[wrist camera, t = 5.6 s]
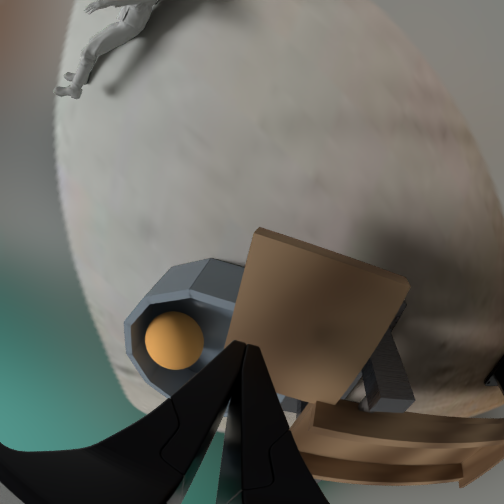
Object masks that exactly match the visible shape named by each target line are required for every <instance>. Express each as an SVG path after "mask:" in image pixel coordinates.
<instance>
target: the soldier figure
mask: <svg viewBox="0 0 504 504" xmlns="http://www.w3.org/2000/svg"><path fill="white" fill-rule="evenodd" d="M156 1H157V0H99V1H96V2H93V3H91V4H89V5H88V6H86V7H85V9H84V11H85V13H87V12H88V11H90V10H91V9H93V10H91V11H90V12H89V13H88V15H89V14H91V13H92V12H94V11H95V10H98V9H102V8H106V7H109V6H115V7H121V6H122V8H121V10H120V12H119V14H118V16H117V17H116V19H118V20H120V22H116V23H113V24H110V25H109V26H107V27H106V28H104V29H103V30H101V31H100V32H98V33H97V34H95V35H94V36H92V37H91V39H90V41H89V43H88V44H87V45H86V46H85V47H84V48H83V50H82V52H81V58H80V63H79V65H78V68H77V71H76V74H74V73H70V72H67V73H66V74H65V75H64V78H65V79H66V80H68V81H72V83H71V85H70V86H68V87H56V88H55V89H54V90H53V92H54V93H55V94H56V95H58V96H61V97H62V96H66V95H68V96H71V98H74V99H79V98H80V96H81V93H82V89H81V88H82V86H83V85H85V84H87V81H88V78H89V73H90V71H91V69H92V67H93V65H94V64H95V62H96V59H97V57H98V56H100V55H102V54H105V53H107V52H108V51H110V50H112V49H113V48H115V47H117V46H120V45H123V44H125V43H126V42H127V41H128V40H130V39H132V38H134V37H135V36H137V35H138V34H139V33H140V32H141V31H142V30H143V29H145V26H146V23H147V21H148V20H149V17H150V15H151V11H152V6H153V5H154V4H157V3H158V2H159V1H160V0H158V1H157V2H156ZM90 7H91V8H90ZM87 9H88V10H87ZM86 10H87V11H86Z"/></svg>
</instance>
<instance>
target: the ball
mask: <svg viewBox="0 0 504 504" xmlns="http://www.w3.org/2000/svg"><path fill="white" fill-rule="evenodd" d="M145 344H146V348H147V351H148V353H149V355H150V356H151V358H152V359H153V360H154V361H155V362H156V363H157V364H159V365H160V366H162V367H164V368H167V369H172V370H180V369H185V368H187V367H189V366H191V365H192V364H194V363H195V362H196V361H197V360H198V359H199V357H200V355H201V353H202V351H203V347H204V337H203V333H202V330H201V328H200V326H199V325H198V324H197V322H196V321H195V320H194V319H193V318H191V317H190V316H188V315H186V314H184V313H181V312H176V311H170V312H165V313H162V314H160V315H158V316H157V317H155V318H154V319H153V320H152V321H151V323H150V324H149V326H148V328H147V330H146V335H145Z"/></svg>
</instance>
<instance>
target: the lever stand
mask: <svg viewBox="0 0 504 504" xmlns="http://www.w3.org/2000/svg"><path fill="white" fill-rule="evenodd" d="M406 305H407V304H406V302H405V301H403V303H402V305H401V306H400V308H399V310H398V312H397V314H396V315H395V317H394V319H393V321H392V322H391V324H390V326H389V328H388V329H387V331H386V333H385V334H384V336H383V337H382V339H381V341H380V342H379V344H378V346H377V347H376V349H375V350H374V352H373V353H372V355H371V356H370V358H369V359H368V361H367V362H366V364H365V365H364V367H363V368H362V370H361V371H360V372H359V374H358V375H357V377H356V378H355V379H354V381H353V382H352V384H351V385H350V386H349V388H348V389H347V390H346V392H345V393H344V394H343V396H342V397H341V398H340V399H343V400H344V399H345V398H346V397H347V395H348V394H349V393H350V391H351V390H352V389H353V388H354V386H355V385H356V384H357V382H358V381H359V379H360V378H361V377H362V376H363V381H364V386H365V391H366V397H367V402H368V407H369V411H375V412H391V413H404V412H405V411H406V410H407V409H408V408H409V407H410V405H411V404H412V403H413V402H414V401H415V398H414V395H413V392H412V389H411V386H410V383H409V380H408V377H407V374H406V371H405V369H404V366H403V363H402V361H401V358H400V355H399V353H398V350H397V348H396V345H395V343H394V340H393V338H392V335H391V332H392V330H393V328H394V327H395V325H396V323H397V321H398V320H399V318H400V316H401V314H402V313H403V311H404V309H405V307H406ZM308 403H309V402H305V401H302V400H298V399H295V398H291V397H288V396H285V397H284V399H283V400H282V402H281V403H280V404H281V407H282V409H283V411H288V412H293V413H297V415H296V420H297V418H298V417H299V415H300V414H301V413H302V411H303V410H304V409H305V407H306V406H307V404H308ZM315 481H316V483H318V482H320V481H322V480H320V479H315Z"/></svg>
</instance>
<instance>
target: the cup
mask: <svg viewBox="0 0 504 504" xmlns="http://www.w3.org/2000/svg"><path fill="white" fill-rule="evenodd" d="M244 269H245V268H244V267H240V266H237V265H233V264H230V263H227V262H223V261H220V260H216V259H213V258H209V259H204V260H200V261H195V262H191V263H186V264H182V265H177V266H173V267H171V268H170V269H169V270H168V271H167V272H166V274H165V275H164V276H163V277H162V278H161V279H160V280H159V281H158V282H157V283H156V284H155V286H154V287H153V288H152V289H151V290H150V291H149V292H148V293H147V294H146V296H145V297H144V298H143V299H142V300H141V301H140V303H139V304H138V305H137V306H136V307H135V309H134V310H133V311H132V312H131V314H130V315H129V316H128V317H127V318H126V320H125V321H124V334H125V346H126V354H127V355H128V357H129V358H130V360H131V361H132V363H133V364H134V366H135V367H136V369H137V370H138V372H139V373H140V375H141V376H142V378H143V379H144V381H145V382H146V383H147V384H149V385H150V386H151V387H153V388H154V389H155V390H157V391H158V392H159V393H161V394H162V395H164V396H165V397H166V398H170V396H172V395H173V394H174V393H175V392H176V391H177V390H179V389H180V388H181V387H182V386H183V385H184V384H185V383H187V382H188V381H189V380H190V379H191V378H192V377H193V376H195V375H196V374H197V373H198V372H199V371H200V370H201V369H202V368H204V367H205V366H206V365H207V364H208V363H209V362H210V361H211V360H212V359H214V358H215V357H216V356H217V355H218V354H219V353H220V352H221V351H222V350H223V349H224V346H225V342H226V338H227V335H228V331H229V327H230V323H231V319H232V315H233V311H234V307H235V304H236V300H237V296H238V292H239V288H240V284H241V280H242V277H243V273H244ZM170 311H176V312H181V313H184V314H186V315H188V316H190V317H191V318H193V319H194V320H195V321H196V322H197V324H198V325H199V326H200V328H201V330H202V333H203V337H204V347H203V351H202V353H201V355H200V357H199V359H198V360H197V361H196V362H195V363H194V364H192V365H191V366H189V367H187V368H185V369H180V370H172V369H167V368H164V367H162V366H160V365H159V364H157V363H156V362H155V361H154V360H153V359H152V358H151V356H150V355H149V353H148V351H147V348H146V344H145V335H146V330H147V328H148V326H149V324H150V323H151V321H152V320H153V319H154V318H155V317H157V316H158V315H160V314H162V313H165V312H170ZM277 396H278V399H279V401H280V403H281V402H282V400H283V399H284V397H285V395H282V394H278V393H277ZM230 399H231V398H230ZM229 403H230V401H229ZM228 408H229V404H228V406H227V409H226V411H225V413H224V416H223V417H227V415H228Z"/></svg>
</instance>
